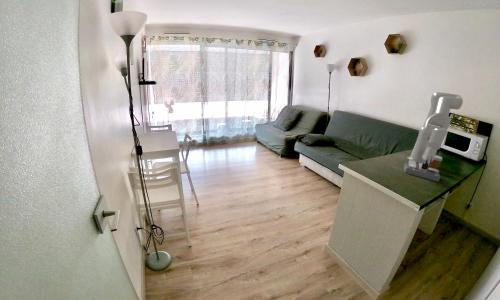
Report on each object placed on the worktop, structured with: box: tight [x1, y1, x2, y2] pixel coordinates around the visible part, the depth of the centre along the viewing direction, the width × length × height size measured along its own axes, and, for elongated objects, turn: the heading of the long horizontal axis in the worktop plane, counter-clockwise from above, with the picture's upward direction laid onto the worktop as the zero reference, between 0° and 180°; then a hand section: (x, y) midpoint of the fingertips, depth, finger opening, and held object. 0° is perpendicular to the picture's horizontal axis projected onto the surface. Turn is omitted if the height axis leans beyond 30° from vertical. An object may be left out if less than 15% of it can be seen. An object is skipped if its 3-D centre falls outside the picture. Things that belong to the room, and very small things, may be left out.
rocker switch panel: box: [403, 162, 442, 182], centre depth 175 cm, size 18×21×4 cm
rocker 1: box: [408, 159, 417, 169], centre depth 175 cm, size 9×4×1 cm, turn 150°
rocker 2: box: [418, 163, 427, 172], centre depth 172 cm, size 9×4×1 cm, turn 150°
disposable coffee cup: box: [427, 154, 443, 170], centre depth 183 cm, size 10×10×12 cm
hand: (423, 168), depth 168 cm, fingers closed
